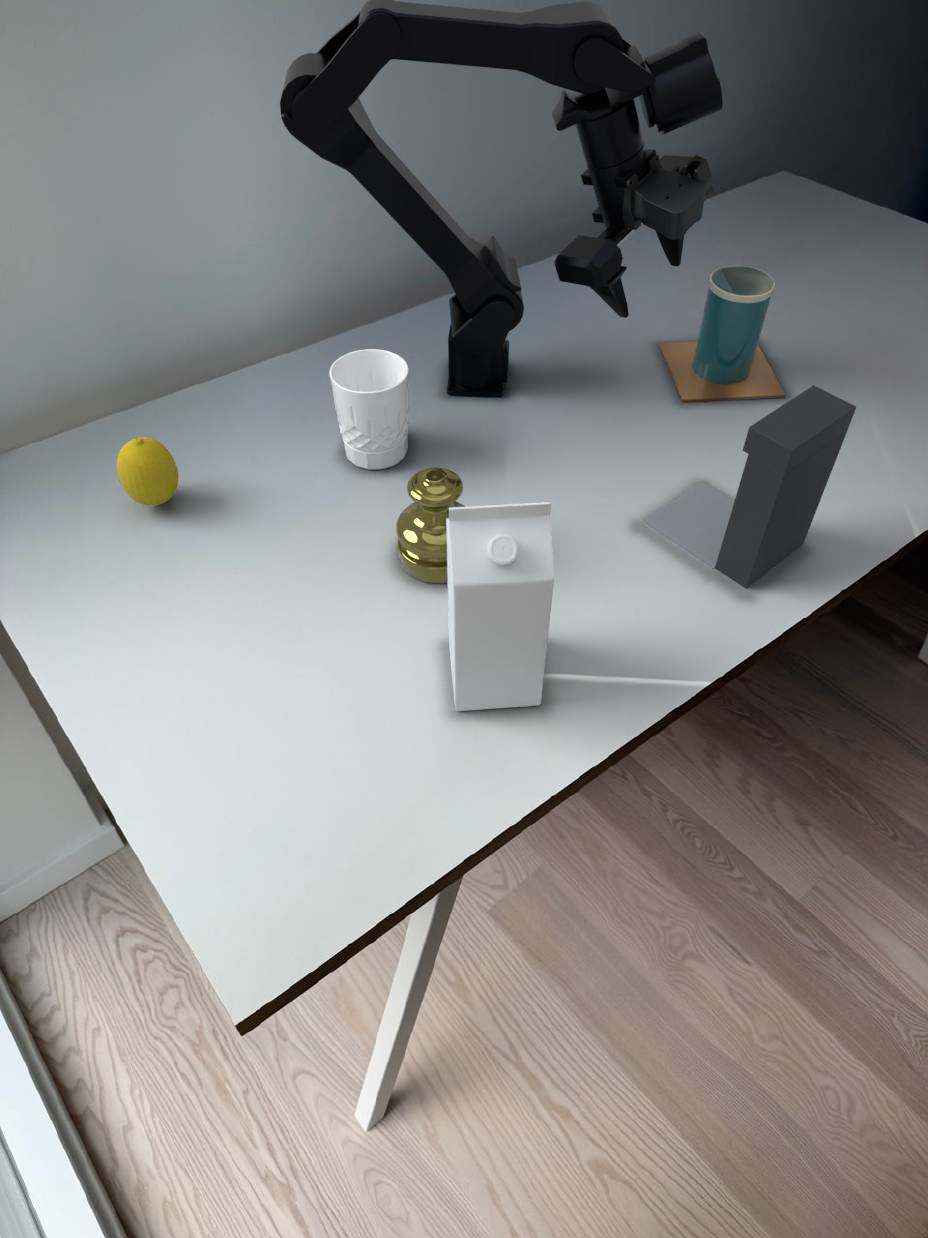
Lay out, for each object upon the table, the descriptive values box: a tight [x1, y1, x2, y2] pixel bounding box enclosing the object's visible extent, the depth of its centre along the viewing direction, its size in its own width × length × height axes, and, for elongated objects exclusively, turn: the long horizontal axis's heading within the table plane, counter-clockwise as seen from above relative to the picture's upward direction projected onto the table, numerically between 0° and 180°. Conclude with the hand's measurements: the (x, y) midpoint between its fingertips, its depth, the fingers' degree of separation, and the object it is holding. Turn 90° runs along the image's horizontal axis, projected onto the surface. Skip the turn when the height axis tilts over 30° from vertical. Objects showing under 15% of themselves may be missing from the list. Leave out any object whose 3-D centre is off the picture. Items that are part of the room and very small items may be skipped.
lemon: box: [116, 436, 179, 507], centre depth 88 cm, size 6×6×8 cm
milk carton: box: [446, 501, 555, 712], centre depth 69 cm, size 7×7×19 cm
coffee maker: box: [641, 385, 857, 589], centre depth 81 cm, size 12×10×16 cm
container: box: [692, 265, 776, 384], centre depth 102 cm, size 7×7×11 cm
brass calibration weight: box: [396, 466, 466, 584], centre depth 82 cm, size 7×7×10 cm
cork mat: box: [659, 341, 786, 403], centre depth 106 cm, size 12×12×1 cm
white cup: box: [328, 348, 410, 470], centre depth 93 cm, size 8×8×10 cm
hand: (650, 290), depth 98 cm, fingers open, 9 cm apart
